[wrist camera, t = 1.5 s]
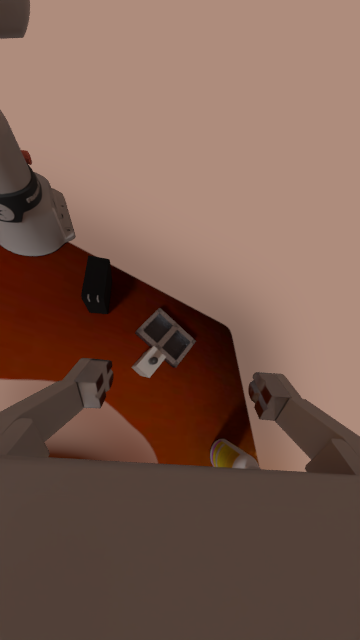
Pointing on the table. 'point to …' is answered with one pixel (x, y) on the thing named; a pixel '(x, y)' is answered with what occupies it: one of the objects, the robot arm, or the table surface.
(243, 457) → the supplement bottle
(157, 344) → the socket box
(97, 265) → the electronic device
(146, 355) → the plug
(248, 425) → the table surface
